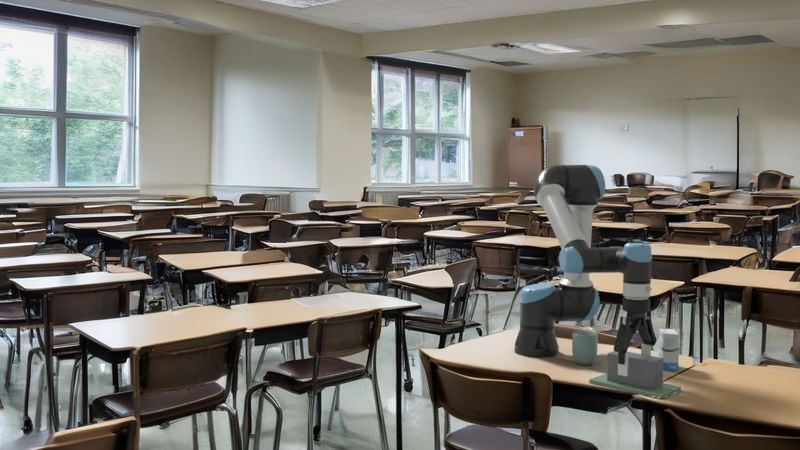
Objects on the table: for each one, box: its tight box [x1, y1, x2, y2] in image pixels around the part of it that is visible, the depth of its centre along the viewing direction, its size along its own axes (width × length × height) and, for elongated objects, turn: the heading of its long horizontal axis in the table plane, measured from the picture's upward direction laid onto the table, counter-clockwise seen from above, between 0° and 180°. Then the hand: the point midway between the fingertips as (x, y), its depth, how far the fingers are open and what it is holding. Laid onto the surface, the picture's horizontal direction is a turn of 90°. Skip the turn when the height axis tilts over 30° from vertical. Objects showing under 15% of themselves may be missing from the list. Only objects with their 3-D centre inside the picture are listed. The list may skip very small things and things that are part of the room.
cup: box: [571, 330, 599, 366], centre depth 230 cm, size 8×8×10 cm
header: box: [588, 372, 682, 398], centre depth 204 cm, size 22×12×6 cm, turn 44°
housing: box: [606, 350, 664, 390], centre depth 204 cm, size 14×6×8 cm, turn 44°
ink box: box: [658, 328, 680, 372], centre depth 225 cm, size 8×5×12 cm, turn 168°
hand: (634, 370), depth 204 cm, fingers open, 13 cm apart
